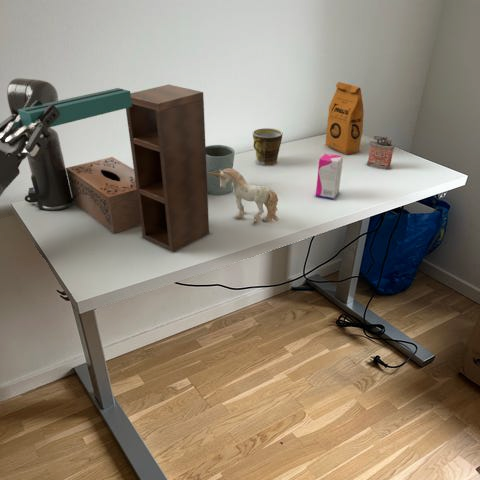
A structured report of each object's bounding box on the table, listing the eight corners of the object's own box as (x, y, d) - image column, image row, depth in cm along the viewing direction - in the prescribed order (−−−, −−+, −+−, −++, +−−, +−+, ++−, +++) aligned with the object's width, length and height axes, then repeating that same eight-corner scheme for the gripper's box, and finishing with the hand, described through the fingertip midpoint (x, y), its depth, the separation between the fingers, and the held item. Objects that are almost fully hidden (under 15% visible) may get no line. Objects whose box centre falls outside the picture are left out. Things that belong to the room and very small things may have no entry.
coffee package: (342, 156, 175) (351, 90, 162) (321, 146, 184) (327, 82, 170) (364, 152, 179) (374, 86, 166) (341, 142, 188) (349, 79, 174)
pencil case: (34, 131, 87) (29, 112, 85) (22, 126, 89) (17, 108, 87) (132, 106, 100) (130, 90, 98) (119, 103, 102) (117, 87, 100)
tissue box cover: (161, 218, 136) (157, 183, 130) (114, 233, 129) (108, 197, 123) (117, 189, 152) (112, 156, 146) (73, 201, 145) (65, 167, 139)
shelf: (172, 252, 121) (158, 103, 100) (142, 238, 127) (123, 94, 106) (209, 233, 129) (203, 92, 108) (179, 221, 135) (168, 84, 114)
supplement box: (339, 192, 150) (344, 155, 143) (333, 200, 146) (338, 161, 139) (320, 189, 152) (324, 152, 145) (314, 196, 148) (318, 158, 141)
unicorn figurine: (216, 208, 141) (214, 162, 133) (283, 217, 137) (285, 169, 129) (208, 219, 135) (206, 172, 127) (277, 228, 131) (280, 180, 123)
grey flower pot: (206, 181, 157) (205, 143, 149) (237, 184, 155) (237, 145, 148) (198, 194, 149) (196, 154, 142) (230, 197, 147) (230, 157, 140)
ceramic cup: (262, 155, 176) (263, 126, 170) (286, 161, 172) (288, 131, 165) (241, 165, 168) (241, 136, 162) (266, 172, 163) (267, 141, 157)
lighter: (391, 167, 167) (397, 137, 161) (388, 170, 165) (394, 139, 159) (369, 162, 170) (373, 133, 164) (365, 165, 168) (370, 135, 162)
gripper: (-20, 180, 92) (41, 115, 96) (20, 201, 85) (84, 130, 88) (-52, 150, 86) (13, 82, 89) (-12, 170, 78) (58, 95, 82)
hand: (48, 106), depth 89 cm, fingers closed on pencil case, 4 cm apart
